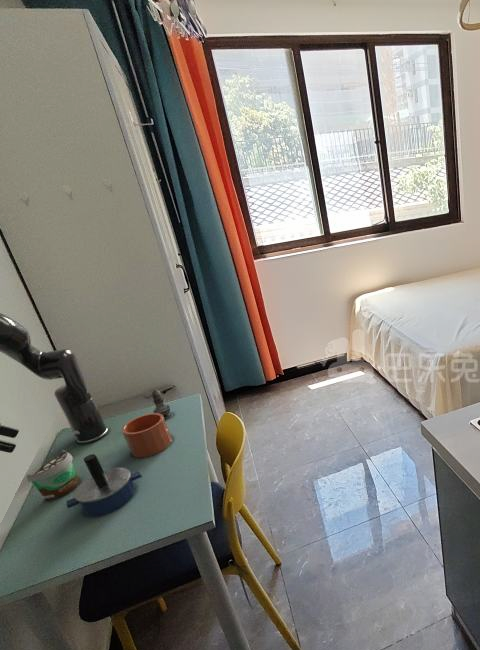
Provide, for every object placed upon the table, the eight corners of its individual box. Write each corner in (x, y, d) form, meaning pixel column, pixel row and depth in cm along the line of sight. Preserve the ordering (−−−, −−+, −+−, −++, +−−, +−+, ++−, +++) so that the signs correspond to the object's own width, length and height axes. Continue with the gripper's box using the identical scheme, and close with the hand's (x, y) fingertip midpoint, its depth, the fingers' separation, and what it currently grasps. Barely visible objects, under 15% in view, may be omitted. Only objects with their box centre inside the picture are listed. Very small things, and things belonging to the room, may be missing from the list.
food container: (58, 504, 125) (42, 477, 121) (41, 503, 126) (24, 476, 122) (93, 475, 136) (79, 449, 132) (77, 475, 137) (63, 448, 133)
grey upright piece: (153, 421, 163) (141, 393, 158) (163, 412, 168) (152, 385, 163) (167, 421, 162) (155, 392, 157) (176, 412, 167) (166, 384, 162)
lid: (75, 486, 125) (59, 457, 120) (128, 464, 131) (115, 436, 127) (76, 512, 114) (59, 481, 110) (134, 487, 121) (120, 457, 117)
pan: (72, 503, 125) (65, 489, 123) (142, 473, 134) (136, 460, 132) (73, 528, 115) (65, 514, 113) (148, 495, 124) (142, 481, 122)
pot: (130, 445, 149) (119, 423, 146) (168, 430, 155) (159, 409, 152) (134, 462, 140) (124, 438, 136) (175, 445, 146) (166, 422, 142)
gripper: (-71, 417, 93) (22, 439, 103) (-57, 394, 103) (25, 416, 114) (-91, 449, 92) (4, 468, 102) (-75, 422, 103) (10, 442, 113)
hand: (15, 441), depth 108 cm, fingers open, 8 cm apart
